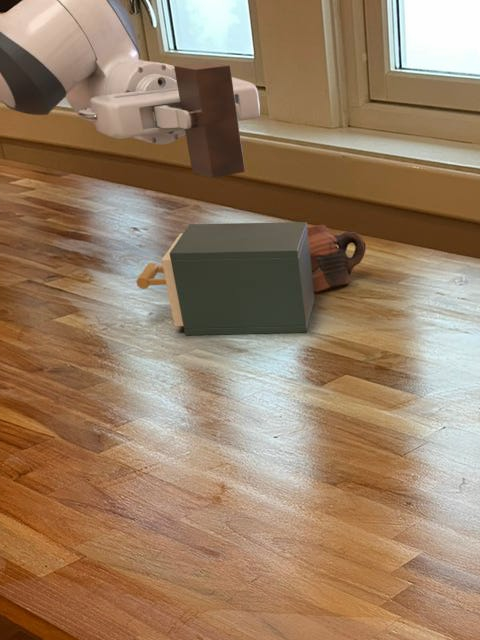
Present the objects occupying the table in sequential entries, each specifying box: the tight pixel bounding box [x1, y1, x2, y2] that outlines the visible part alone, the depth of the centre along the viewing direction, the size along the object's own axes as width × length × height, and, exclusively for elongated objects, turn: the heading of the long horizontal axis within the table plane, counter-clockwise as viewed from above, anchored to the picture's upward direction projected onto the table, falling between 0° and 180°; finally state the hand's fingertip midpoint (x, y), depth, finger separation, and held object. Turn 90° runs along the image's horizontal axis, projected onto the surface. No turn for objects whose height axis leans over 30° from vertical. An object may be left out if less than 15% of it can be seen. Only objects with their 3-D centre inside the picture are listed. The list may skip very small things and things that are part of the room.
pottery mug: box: [307, 224, 367, 293], centre depth 132 cm, size 12×10×8 cm
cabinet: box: [169, 221, 316, 336], centre depth 119 cm, size 15×13×10 cm
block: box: [173, 61, 246, 179], centre depth 111 cm, size 4×4×11 cm
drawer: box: [136, 232, 184, 327], centre depth 118 cm, size 18×11×8 cm, turn 93°
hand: (214, 116), depth 111 cm, fingers closed on block, 4 cm apart
